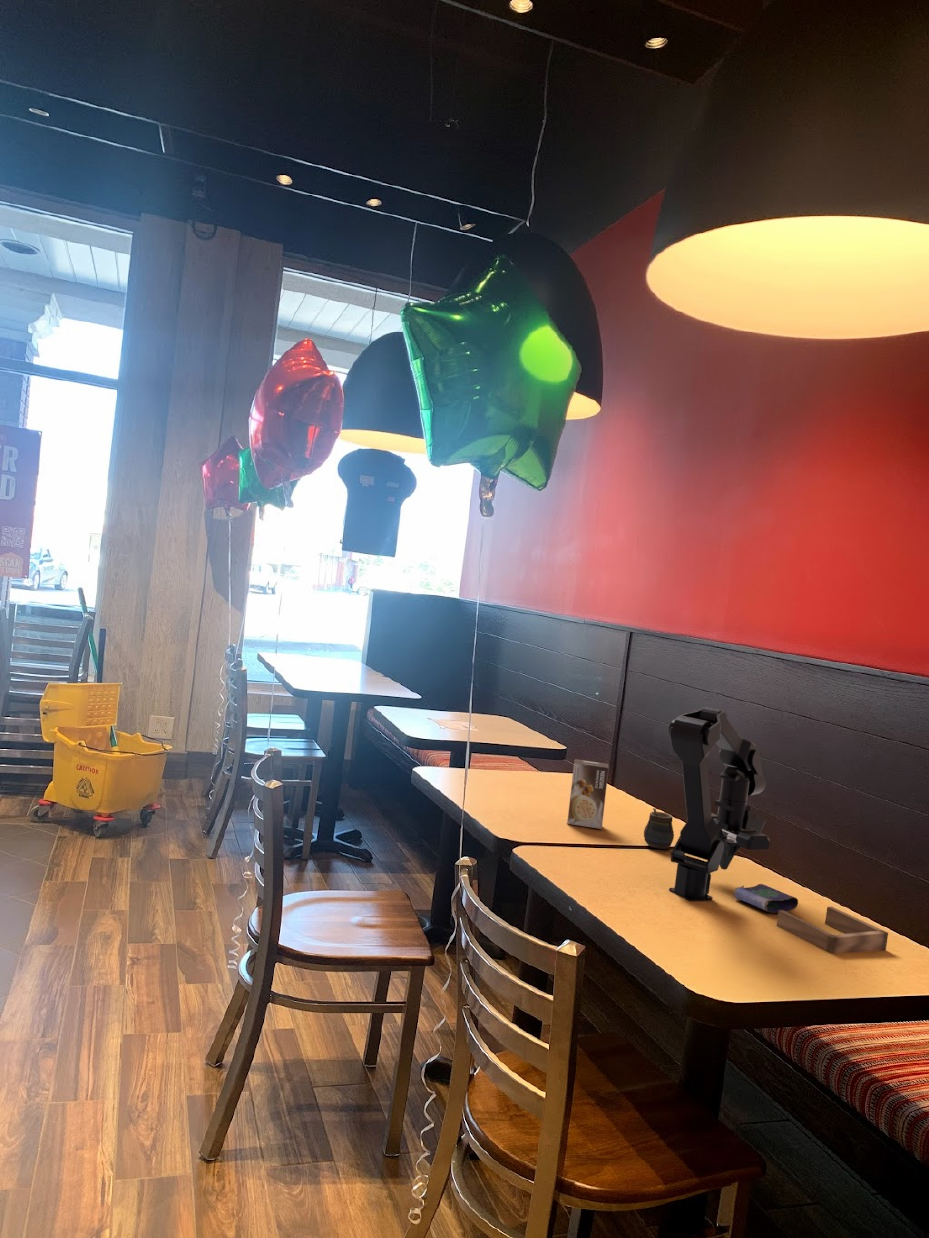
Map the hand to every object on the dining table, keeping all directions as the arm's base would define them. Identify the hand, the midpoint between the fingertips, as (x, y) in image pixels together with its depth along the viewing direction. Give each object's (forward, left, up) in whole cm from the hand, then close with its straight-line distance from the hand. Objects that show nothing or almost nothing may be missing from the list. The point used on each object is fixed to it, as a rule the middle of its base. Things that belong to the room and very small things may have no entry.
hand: (723, 868), depth 200 cm
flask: (0, -17, -4) cm, 17 cm away
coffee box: (-5, +46, -4) cm, 46 cm away
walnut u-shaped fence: (0, -29, -4) cm, 29 cm away
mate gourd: (+4, +27, -4) cm, 27 cm away
